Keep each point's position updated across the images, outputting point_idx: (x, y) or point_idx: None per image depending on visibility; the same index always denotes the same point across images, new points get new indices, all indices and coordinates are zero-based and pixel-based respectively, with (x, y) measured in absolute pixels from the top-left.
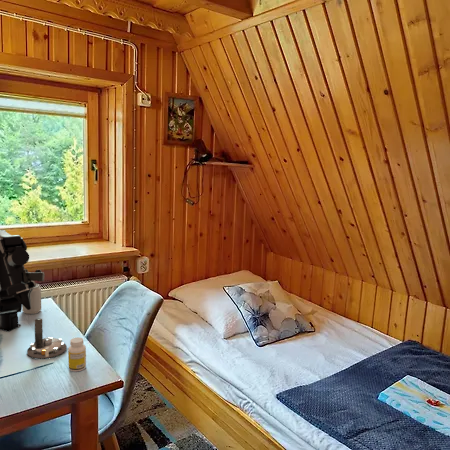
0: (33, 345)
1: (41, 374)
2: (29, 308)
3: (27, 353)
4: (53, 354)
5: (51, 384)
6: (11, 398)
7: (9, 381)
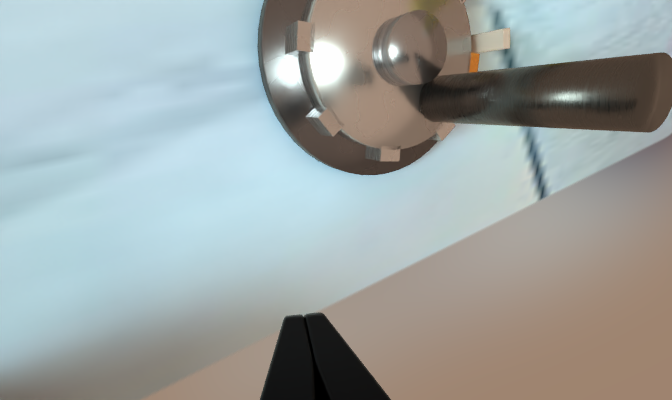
0: (410, 139)
1: (562, 57)
2: (328, 330)
3: (403, 164)
4: None
5: (622, 9)
6: None
7: (571, 169)
